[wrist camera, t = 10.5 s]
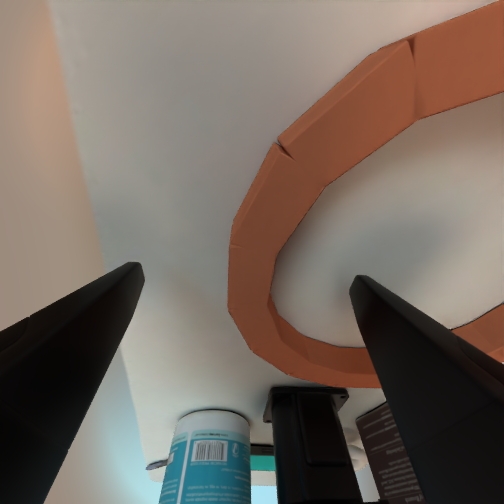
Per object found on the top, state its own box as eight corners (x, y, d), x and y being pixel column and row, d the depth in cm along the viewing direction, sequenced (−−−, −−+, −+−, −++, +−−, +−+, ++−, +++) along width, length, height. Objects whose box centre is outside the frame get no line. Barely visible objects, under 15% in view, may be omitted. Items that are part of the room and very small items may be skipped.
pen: (216, 452, 26) (146, 472, 31) (217, 446, 27) (148, 467, 31) (212, 448, 26) (142, 469, 31) (213, 443, 26) (144, 464, 31)
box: (444, 405, 21) (525, 531, 14) (397, 427, 24) (448, 538, 18) (395, 395, 19) (463, 530, 13) (352, 419, 22) (391, 537, 16)
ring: (463, 365, 16) (484, 391, 15) (227, 357, 15) (224, 384, 14) (853, 44, 6) (1041, 26, 5) (242, -44, 5) (239, -103, 4)
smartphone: (335, 473, 31) (233, 469, 29) (333, 465, 32) (233, 461, 30) (360, 459, 27) (244, 454, 25) (357, 450, 28) (244, 444, 26)
